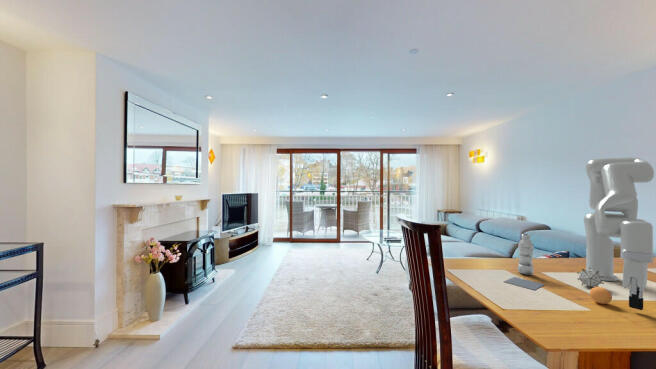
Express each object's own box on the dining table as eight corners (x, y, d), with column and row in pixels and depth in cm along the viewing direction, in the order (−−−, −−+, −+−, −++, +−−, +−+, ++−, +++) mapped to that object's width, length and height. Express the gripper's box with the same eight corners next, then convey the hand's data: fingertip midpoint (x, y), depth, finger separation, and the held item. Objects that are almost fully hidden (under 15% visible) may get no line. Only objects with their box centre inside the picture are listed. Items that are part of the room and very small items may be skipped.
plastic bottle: (530, 272, 139) (530, 233, 139) (535, 277, 132) (536, 236, 132) (515, 271, 141) (516, 233, 141) (520, 275, 134) (520, 235, 134)
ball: (591, 298, 107) (592, 283, 107) (613, 304, 102) (613, 288, 102) (587, 302, 103) (587, 286, 103) (610, 308, 98) (610, 291, 98)
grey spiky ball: (596, 296, 118) (614, 283, 112) (575, 288, 120) (592, 274, 114) (587, 281, 125) (604, 267, 120) (568, 273, 127) (583, 259, 121)
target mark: (514, 277, 132) (514, 276, 132) (545, 284, 122) (545, 284, 122) (503, 281, 125) (503, 281, 125) (534, 290, 115) (534, 289, 115)
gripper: (624, 251, 103) (624, 299, 103) (616, 256, 94) (616, 309, 94) (655, 255, 97) (655, 307, 96) (649, 261, 88) (649, 318, 88)
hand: (636, 308), depth 95 cm, fingers closed
